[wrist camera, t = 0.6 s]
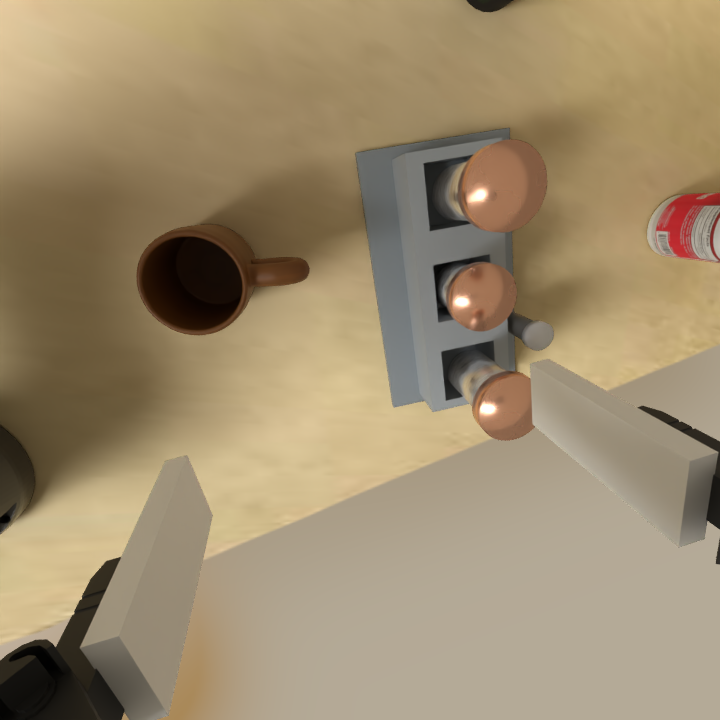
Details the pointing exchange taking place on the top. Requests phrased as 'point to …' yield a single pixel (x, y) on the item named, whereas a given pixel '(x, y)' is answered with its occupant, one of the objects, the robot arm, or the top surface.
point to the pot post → (530, 331)
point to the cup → (488, 4)
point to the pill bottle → (687, 227)
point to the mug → (206, 277)
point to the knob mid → (475, 293)
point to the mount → (425, 266)
